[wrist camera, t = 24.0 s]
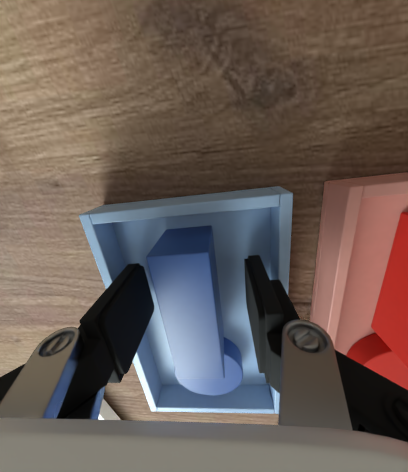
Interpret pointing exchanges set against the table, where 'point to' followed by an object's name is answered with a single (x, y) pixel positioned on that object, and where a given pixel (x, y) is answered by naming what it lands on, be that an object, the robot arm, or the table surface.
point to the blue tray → (229, 279)
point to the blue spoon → (194, 311)
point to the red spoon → (390, 317)
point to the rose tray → (354, 253)
